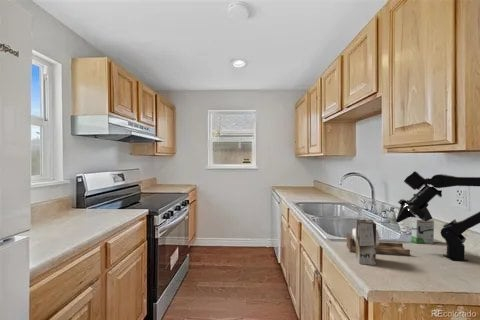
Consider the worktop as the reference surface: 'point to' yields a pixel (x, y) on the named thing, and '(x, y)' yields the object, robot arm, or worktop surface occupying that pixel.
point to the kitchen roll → (355, 238)
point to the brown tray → (382, 248)
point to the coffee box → (366, 242)
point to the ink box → (422, 231)
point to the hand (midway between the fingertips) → (396, 221)
